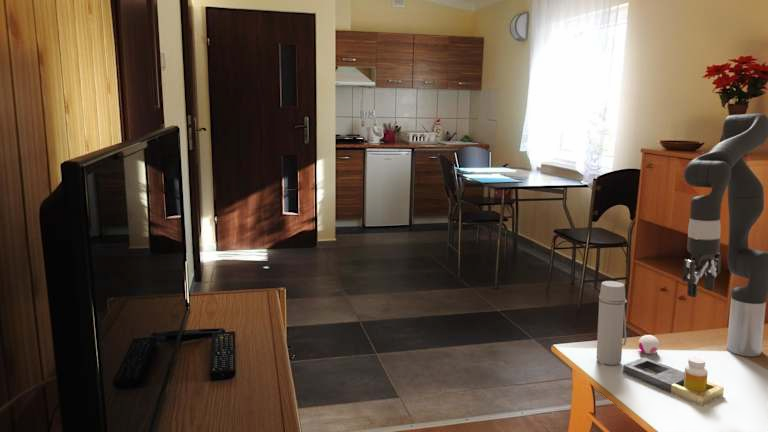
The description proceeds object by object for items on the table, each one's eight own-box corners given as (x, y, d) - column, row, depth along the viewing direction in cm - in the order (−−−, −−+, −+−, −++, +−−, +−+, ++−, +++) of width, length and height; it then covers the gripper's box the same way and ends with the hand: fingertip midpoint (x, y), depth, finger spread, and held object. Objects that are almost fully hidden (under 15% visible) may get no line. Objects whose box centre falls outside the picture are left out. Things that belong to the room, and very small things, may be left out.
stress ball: (639, 357, 184) (628, 340, 184) (662, 345, 181) (650, 328, 182) (642, 366, 177) (630, 348, 177) (666, 354, 174) (654, 336, 175)
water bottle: (605, 368, 169) (609, 288, 165) (590, 357, 177) (594, 281, 172) (632, 365, 171) (637, 286, 167) (617, 354, 178) (620, 278, 174)
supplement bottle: (708, 399, 150) (711, 365, 148) (686, 397, 151) (689, 363, 149) (701, 389, 155) (704, 356, 153) (680, 388, 156) (683, 355, 154)
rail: (643, 364, 171) (644, 357, 170) (723, 396, 151) (723, 387, 150) (622, 372, 166) (623, 365, 165) (701, 406, 146) (702, 397, 145)
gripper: (704, 229, 157) (701, 284, 160) (675, 237, 150) (672, 295, 152) (732, 233, 151) (728, 291, 153) (703, 241, 143) (700, 302, 146)
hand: (700, 293), depth 153 cm, fingers open, 8 cm apart
